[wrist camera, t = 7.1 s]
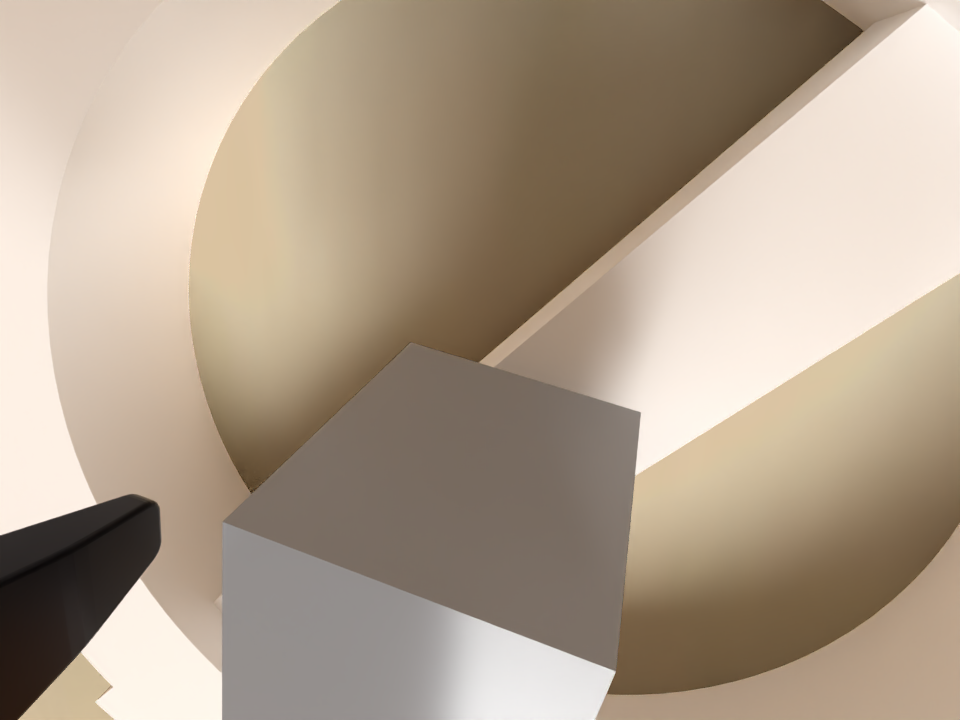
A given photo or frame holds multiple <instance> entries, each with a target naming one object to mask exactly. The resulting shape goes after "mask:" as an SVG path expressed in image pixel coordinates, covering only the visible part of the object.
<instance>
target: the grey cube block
mask: <svg viewBox="0 0 960 720" xmlns="http://www.w3.org/2000/svg"><path fill="white" fill-rule="evenodd" d="M640 418H641V412H638V411H635V410H632V409H629V408H625V407H622V406H619V405H615V404H612V403H609V402H606V401H602V400H599V399H596V398H593V397H589V396H586V395H583V394H579V393H576V392H573V391H570V390H566V389H563V388H560V387H556V386H553V385H550V384H547V383H543V382H540V381H537V380H533V379H530V378H527V377H524V376H520V375H517V374H514V373H511V372H507V371H504V370H501V369H497V368H494V367H491V366H488V365H484V364H481V363H478V362H474V361H471V360H468V359H465V358H461V357H458V356H455V355H451V354H448V353H445V352H442V351H438V350H435V349H432V348H429V347H425V346H422V345H419V344H415V343H412V342H410V343H409V344H408V345H407V346H406V347H405V348H404V349H403V350H402V351H401V352H400V353H399V354H398V355H397V356H396V357H395V358H394V359H393V360H392V361H390V362H389V363H388V364H387V365H386V366H385V367H384V368H383V369H382V370H381V371H380V372H379V373H378V374H377V375H376V376H375V377H374V378H373V379H372V380H371V381H370V382H368V383H367V384H366V385H365V386H364V387H363V388H362V389H361V390H360V391H359V392H358V393H357V394H356V395H355V396H354V397H353V398H352V399H351V400H350V401H349V402H347V403H346V404H345V405H344V406H343V407H342V408H341V409H340V410H339V411H338V412H337V413H336V414H335V415H334V416H333V417H332V418H331V419H330V420H329V421H328V422H327V423H325V424H324V425H323V426H322V427H321V428H320V429H319V430H318V431H317V432H316V433H315V434H314V435H313V436H312V437H311V438H310V439H309V440H308V441H307V442H306V443H304V444H303V445H302V446H301V447H300V448H299V449H298V450H297V451H296V452H295V453H294V454H293V455H292V456H291V457H290V458H289V459H288V460H287V461H286V462H285V463H284V464H282V465H281V466H280V467H279V468H278V469H277V470H276V471H275V472H274V473H273V474H272V475H271V476H270V477H269V478H268V479H267V480H266V481H265V482H264V483H263V484H261V485H260V486H259V487H258V488H257V489H256V490H255V491H254V492H253V493H252V494H251V495H250V496H249V497H248V498H247V499H246V500H245V501H244V502H243V503H242V504H240V505H239V506H238V507H237V508H236V509H235V510H234V511H233V512H232V513H231V514H230V515H229V516H228V517H227V518H226V519H225V520H224V521H223V522H222V720H595V719H596V716H597V714H598V712H599V710H600V707H601V705H602V703H603V700H604V698H605V696H606V693H607V691H608V689H609V687H610V684H611V682H612V680H613V677H614V675H615V673H616V667H617V656H618V646H619V636H620V625H621V615H622V605H623V594H624V584H625V573H626V563H627V553H628V542H629V532H630V522H631V511H632V501H633V490H634V480H635V470H636V459H637V449H638V439H639V428H640Z"/></svg>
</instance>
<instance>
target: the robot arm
mask: <svg viewBox="0 0 960 720" xmlns="http://www.w3.org/2000/svg"><path fill="white" fill-rule="evenodd" d="M161 540H162V539H161V518H160V507H159V505H158V503H157V502H155V501H154V500H151V499H149V498H146V497H143V496H141V495H138V494H128V495H124V496H121V497H118V498H115V499H112V500H109V501H106V502H102V503H99V504H96V505H93V506H90V507H87V508H84V509H81V510H77V511H74V512H71V513H68V514H65V515H62V516H59V517H56V518H52V519H49V520H46V521H43V522H40V523H37V524H34V525H31V526H27V527H24V528H21V529H18V530H15V531H12V532H9V533H6V534H3V535H0V720H18V719H19V718H20V717H21V716H22V715H23V714H24V713H25V712H26V711H27V709H28V708H29V707H30V706H31V705H32V704H33V703H34V702H35V701H36V700H37V699H38V698H39V697H40V695H41V694H42V693H43V692H44V691H45V690H46V689H47V688H48V687H49V686H50V685H51V684H52V683H53V682H54V680H55V679H56V678H57V677H58V676H59V675H60V674H61V673H62V672H63V671H64V670H65V669H66V668H67V667H68V665H69V664H70V663H71V662H72V661H73V660H74V659H75V658H76V657H77V656H78V654H79V653H80V652H81V651H82V650H83V649H84V648H85V647H86V646H87V644H88V643H89V642H90V641H91V639H92V638H93V637H94V636H95V635H96V633H97V632H98V631H99V630H100V628H101V627H102V626H103V624H104V623H105V622H106V621H107V619H108V618H109V617H110V615H111V614H112V613H113V612H114V610H115V609H116V608H117V606H118V605H119V604H120V603H121V601H122V600H123V599H124V597H125V596H126V595H127V594H128V592H129V591H130V590H131V588H132V587H133V586H134V585H135V583H136V582H137V581H138V579H139V578H140V577H141V576H142V574H143V573H144V572H145V570H146V569H147V568H148V567H149V565H150V564H151V563H152V561H153V560H154V559H155V557H156V556H157V554H158V552H159V549H160V546H161Z"/></svg>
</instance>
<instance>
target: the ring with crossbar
mask: <svg viewBox="0 0 960 720" xmlns="http://www.w3.org/2000/svg"><path fill="white" fill-rule="evenodd" d="M340 1H341V0H0V535H3V534H6V533H9V532H12V531H15V530H18V529H21V528H24V527H27V526H31V525H34V524H37V523H40V522H43V521H46V520H49V519H52V518H56V517H59V516H62V515H65V514H68V513H71V512H74V511H77V510H81V509H84V508H87V507H90V506H93V505H96V504H99V503H102V502H106V501H109V500H112V499H115V498H118V497H121V496H124V495H128V494H138V495H141V496H143V497H146V498H149V499H151V500H154V501H155V502H157V503H158V505H159V507H160V518H161V539H162V540H161V546H160V549H159V552H158V554H157V556H156V557H155V559H154V560H153V561H152V563H151V564H150V565H149V567H148V568H147V569H146V570H145V572H144V573H143V574H142V576H141V577H140V578H139V579H138V581H137V582H136V583H135V585H134V586H133V587H132V588H131V590H130V591H129V592H128V594H127V595H126V596H125V597H124V599H123V600H122V601H121V603H120V604H119V605H118V606H117V608H116V609H115V610H114V612H113V613H112V614H111V615H110V617H109V618H108V619H107V621H106V622H105V623H104V624H103V626H102V627H101V628H100V630H99V631H98V632H97V633H96V635H95V636H94V637H93V638H92V639H91V641H90V642H89V643H88V644H87V646H86V647H85V648H84V649H83V650H82V651H81V653H82V654H83V655H84V656H85V658H86V659H87V660H88V661H89V662H90V663H91V664H92V665H93V666H94V668H95V669H96V670H97V671H98V672H99V673H100V674H101V675H102V676H103V677H104V678H105V679H106V680H107V681H108V682H109V683H110V684H111V686H110V687H109V688H108V689H107V690H106V691H105V692H104V693H103V694H102V695H101V696H100V697H99V698H98V700H97V701H96V702H95V703H96V704H98V705H99V706H100V707H101V708H102V709H103V710H104V711H105V712H107V713H108V714H109V715H110V716H111V717H112V718H113V719H115V720H222V522H223V521H224V520H225V519H226V518H227V517H228V516H229V515H230V514H231V513H232V512H233V511H234V510H235V509H236V508H237V507H238V506H239V505H240V504H242V503H243V502H244V501H245V500H246V499H247V498H248V497H249V496H250V495H251V493H250V491H249V490H248V488H247V487H246V485H245V483H244V482H243V480H242V479H241V477H240V475H239V473H238V471H237V469H236V468H235V466H234V464H233V462H232V460H231V458H230V456H229V454H228V452H227V450H226V448H225V446H224V444H223V442H222V440H221V437H220V435H219V432H218V430H217V428H216V425H215V423H214V420H213V418H212V415H211V412H210V409H209V406H208V403H207V401H206V397H205V394H204V390H203V387H202V383H201V380H200V376H199V371H198V367H197V362H196V358H195V352H194V346H193V340H192V333H191V323H190V313H189V265H190V255H191V244H192V238H193V232H194V226H195V220H196V215H197V211H198V207H199V203H200V199H201V195H202V191H203V188H204V185H205V182H206V179H207V176H208V173H209V170H210V167H211V165H212V162H213V160H214V157H215V155H216V152H217V150H218V147H219V145H220V143H221V141H222V139H223V137H224V135H225V133H226V131H227V129H228V127H229V125H230V123H231V122H232V120H233V118H234V116H235V115H236V113H237V111H238V110H239V108H240V106H241V105H242V103H243V101H244V100H245V98H246V97H247V95H248V94H249V93H250V91H251V90H252V88H253V87H254V85H255V84H256V83H257V81H258V80H259V78H260V77H261V76H262V75H263V73H264V72H265V71H266V70H267V69H268V67H269V66H270V65H271V64H272V63H273V61H274V60H275V59H276V58H277V57H278V56H279V55H280V53H281V52H282V51H283V50H284V49H285V48H286V47H287V46H288V45H289V44H290V43H291V42H292V41H293V40H294V39H295V38H296V37H297V36H298V35H299V34H300V33H301V32H303V31H304V30H305V29H306V28H307V27H308V26H309V25H311V24H312V23H313V22H314V21H315V20H316V19H317V18H318V17H320V16H321V15H322V14H324V13H325V12H326V11H328V10H329V9H330V8H332V7H333V6H334V5H336V4H337V3H338V2H340ZM821 1H823V2H825V3H826V4H828V5H829V6H831V7H832V8H833V9H835V10H836V11H837V12H839V13H840V14H842V15H843V16H844V17H846V18H847V19H849V20H850V21H851V22H853V23H854V24H855V25H857V26H858V27H860V28H861V29H862V30H863V31H864V32H863V33H862V34H861V35H860V36H858V37H857V38H856V39H855V40H854V41H853V42H851V43H850V44H849V45H848V46H847V47H846V48H844V49H843V50H842V51H841V52H840V53H839V54H837V55H836V56H835V57H834V58H833V59H832V60H830V61H829V62H828V63H827V64H826V65H825V66H823V67H822V68H821V69H820V70H819V71H818V72H816V73H815V74H814V75H813V76H812V77H811V78H809V79H808V80H807V81H806V82H805V83H804V84H802V85H801V86H800V87H799V88H798V89H797V90H795V91H794V92H793V93H792V94H791V95H790V96H788V97H787V98H786V99H785V100H784V101H783V102H781V103H780V104H779V105H778V106H777V107H776V108H775V109H773V110H772V111H771V112H770V113H769V114H768V115H766V116H765V117H764V118H763V119H762V120H761V121H759V122H758V123H757V124H756V125H755V126H754V127H752V128H751V129H750V130H749V131H748V132H747V133H745V134H744V135H743V136H742V137H741V138H740V139H738V140H737V141H736V142H735V143H734V144H733V145H731V146H730V147H729V148H728V149H727V150H726V151H724V152H723V153H722V154H721V155H720V156H719V157H717V158H716V159H715V160H714V161H713V162H712V163H710V164H709V165H708V166H707V167H706V168H705V169H703V170H702V171H701V172H700V173H699V174H698V175H696V176H695V177H694V178H693V179H692V180H691V181H690V182H688V183H687V184H686V185H685V186H684V187H683V188H681V189H680V190H679V191H678V192H677V193H676V194H674V195H673V196H672V197H671V198H670V199H669V200H667V201H666V202H665V203H664V204H663V205H662V206H660V207H659V208H658V209H657V210H656V211H655V212H653V213H652V214H651V215H650V216H649V217H648V218H646V219H645V220H644V221H643V222H642V223H641V224H639V225H638V226H637V227H636V228H635V229H634V230H632V231H631V232H630V233H629V234H628V235H627V236H625V237H624V238H623V239H622V240H621V241H620V242H618V243H617V244H616V245H615V246H614V247H613V248H612V249H610V250H609V251H608V252H607V253H606V254H605V255H603V256H602V257H601V258H600V259H599V260H598V261H596V262H595V263H594V264H593V265H592V266H591V267H589V268H588V269H587V270H586V271H585V272H584V273H582V274H581V275H580V276H579V277H578V278H577V279H575V280H574V281H573V282H572V283H571V284H570V285H568V286H567V287H566V288H565V289H564V290H563V291H561V292H560V293H559V294H558V295H557V296H556V297H554V298H553V299H552V300H551V301H550V302H549V303H547V304H546V305H545V306H544V307H543V308H542V309H540V310H539V311H538V312H537V313H536V314H535V315H533V316H532V317H531V318H530V319H529V320H528V321H527V322H525V323H524V324H523V325H522V326H521V327H520V328H518V329H517V330H516V331H515V332H514V333H513V334H511V335H510V336H509V337H508V338H507V339H506V340H504V341H503V342H502V343H501V344H500V345H499V346H497V347H496V348H495V349H494V350H493V351H492V352H490V353H489V354H488V355H487V356H486V357H485V358H483V359H482V360H481V361H480V362H479V363H481V364H484V365H488V366H491V367H494V368H497V369H501V370H504V371H507V372H511V373H514V374H517V375H520V376H524V377H527V378H530V379H533V380H537V381H540V382H543V383H547V384H550V385H553V386H556V387H560V388H563V389H566V390H570V391H573V392H576V393H579V394H583V395H586V396H589V397H593V398H596V399H599V400H602V401H606V402H609V403H612V404H615V405H619V406H622V407H625V408H629V409H632V410H635V411H638V412H641V418H640V428H639V439H638V449H637V459H636V470H635V476H636V475H637V474H639V473H640V472H642V471H644V470H645V469H647V468H648V467H650V466H652V465H653V464H655V463H656V462H658V461H660V460H661V459H663V458H664V457H666V456H668V455H669V454H671V453H672V452H674V451H676V450H677V449H679V448H680V447H682V446H684V445H685V444H687V443H688V442H690V441H692V440H693V439H695V438H696V437H698V436H700V435H701V434H703V433H704V432H706V431H708V430H709V429H711V428H712V427H714V426H716V425H717V424H719V423H720V422H722V421H724V420H725V419H727V418H728V417H730V416H732V415H733V414H735V413H736V412H738V411H740V410H741V409H743V408H744V407H746V406H748V405H749V404H751V403H752V402H754V401H756V400H757V399H759V398H760V397H762V396H764V395H765V394H767V393H768V392H770V391H772V390H773V389H775V388H776V387H778V386H780V385H781V384H783V383H784V382H786V381H788V380H789V379H791V378H792V377H794V376H796V375H797V374H799V373H800V372H802V371H804V370H805V369H807V368H808V367H810V366H812V365H813V364H815V363H816V362H818V361H820V360H821V359H823V358H824V357H826V356H828V355H829V354H831V353H832V352H834V351H836V350H837V349H839V348H840V347H842V346H844V345H845V344H847V343H848V342H850V341H852V340H853V339H855V338H856V337H858V336H860V335H861V334H863V333H864V332H866V331H868V330H869V329H871V328H872V327H874V326H876V325H877V324H879V323H880V322H882V321H884V320H885V319H887V318H888V317H890V316H892V315H893V314H895V313H896V312H898V311H900V310H901V309H903V308H904V307H906V306H908V305H909V304H911V303H912V302H914V301H916V300H917V299H919V298H920V297H922V296H924V295H925V294H927V293H928V292H930V291H932V290H933V289H935V288H936V287H938V286H940V285H941V284H943V283H944V282H946V281H948V280H949V279H951V278H952V277H954V276H956V275H957V274H959V273H960V0H821ZM595 720H960V523H959V525H958V526H957V528H956V529H955V531H954V532H953V534H952V535H951V537H950V538H949V539H948V541H947V542H946V543H945V545H944V546H943V547H942V548H941V550H940V551H939V552H938V553H937V555H936V556H935V557H934V558H933V560H932V561H931V562H930V563H929V564H928V565H927V566H926V568H925V569H924V570H923V571H922V572H921V573H920V574H919V575H918V576H917V577H916V578H915V579H914V580H913V582H912V583H910V584H909V585H908V586H907V587H906V588H905V589H904V590H903V591H902V592H901V593H900V594H899V595H897V596H896V597H895V598H894V599H893V600H892V601H891V602H890V603H888V604H887V605H886V606H884V607H883V608H882V609H881V610H879V611H878V612H877V613H876V614H874V615H873V616H872V617H871V618H869V619H868V620H866V621H865V622H863V623H862V624H860V625H859V626H857V627H856V628H855V629H853V630H852V631H850V632H849V633H847V634H845V635H844V636H842V637H840V638H838V639H837V640H835V641H833V642H832V643H830V644H828V645H826V646H824V647H822V648H821V649H819V650H817V651H815V652H813V653H811V654H809V655H807V656H805V657H802V658H800V659H798V660H795V661H793V662H791V663H788V664H786V665H784V666H781V667H778V668H776V669H773V670H770V671H767V672H764V673H761V674H759V675H755V676H752V677H748V678H745V679H741V680H738V681H735V682H730V683H726V684H721V685H717V686H713V687H707V688H701V689H695V690H689V691H681V692H672V693H663V694H645V695H609V694H606V696H605V698H604V700H603V703H602V705H601V707H600V710H599V712H598V714H597V716H596V719H595Z"/></svg>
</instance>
